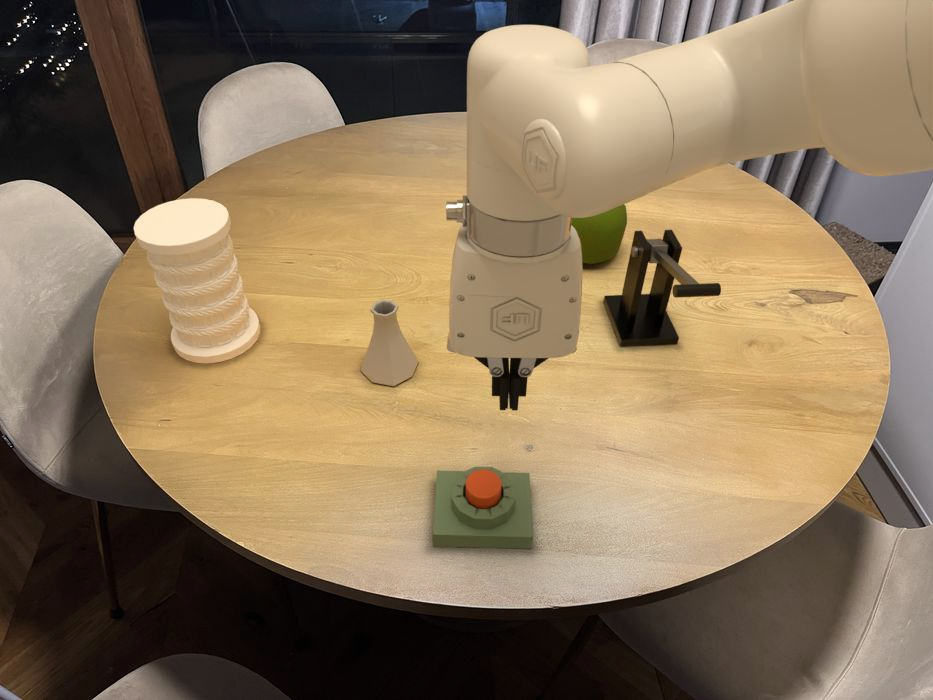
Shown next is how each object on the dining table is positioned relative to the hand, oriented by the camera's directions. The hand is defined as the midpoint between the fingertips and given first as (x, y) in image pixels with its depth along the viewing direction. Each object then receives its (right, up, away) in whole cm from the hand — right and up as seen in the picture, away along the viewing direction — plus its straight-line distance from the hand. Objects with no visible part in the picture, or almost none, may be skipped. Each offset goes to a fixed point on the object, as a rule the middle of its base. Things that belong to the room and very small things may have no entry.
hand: (508, 398), depth 60 cm
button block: (-2, -13, +11) cm, 17 cm away
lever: (+21, +13, +22) cm, 33 cm away
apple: (+16, +20, +49) cm, 55 cm away
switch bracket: (+21, +8, +35) cm, 42 cm away
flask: (-14, +2, +28) cm, 31 cm away
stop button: (-2, -10, +9) cm, 14 cm away
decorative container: (-38, +6, +33) cm, 50 cm away
